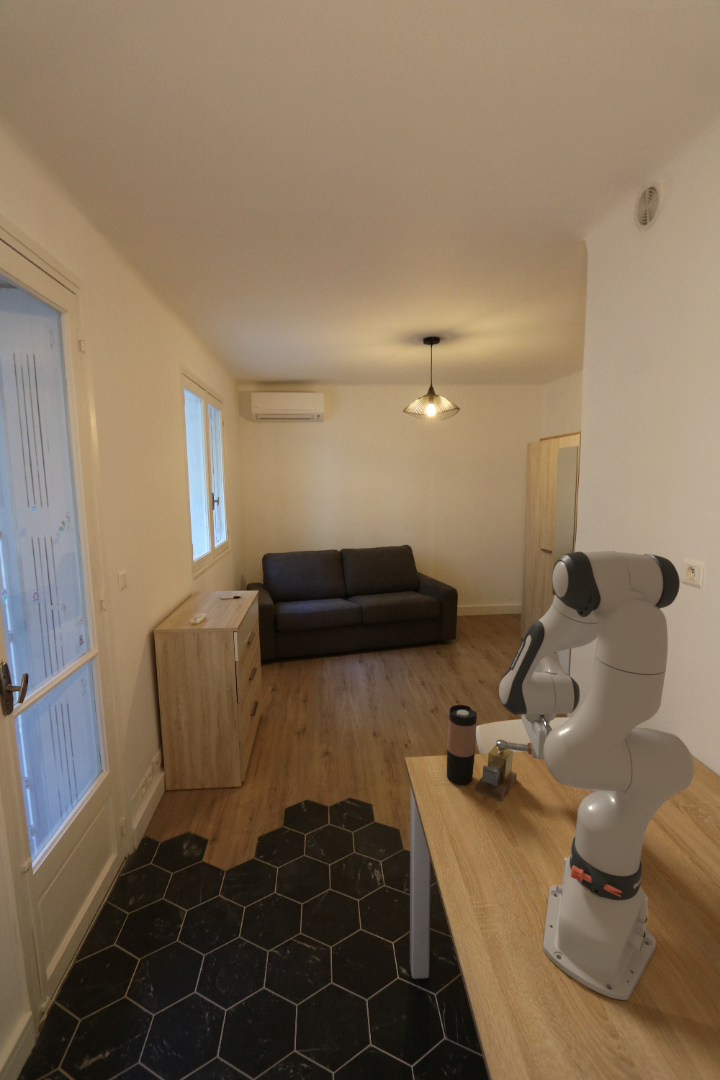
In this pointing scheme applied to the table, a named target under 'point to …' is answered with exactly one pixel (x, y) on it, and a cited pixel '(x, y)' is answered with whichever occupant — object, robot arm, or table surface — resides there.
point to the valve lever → (513, 746)
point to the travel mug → (461, 744)
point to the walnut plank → (493, 791)
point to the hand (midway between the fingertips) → (534, 756)
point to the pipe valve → (498, 767)
